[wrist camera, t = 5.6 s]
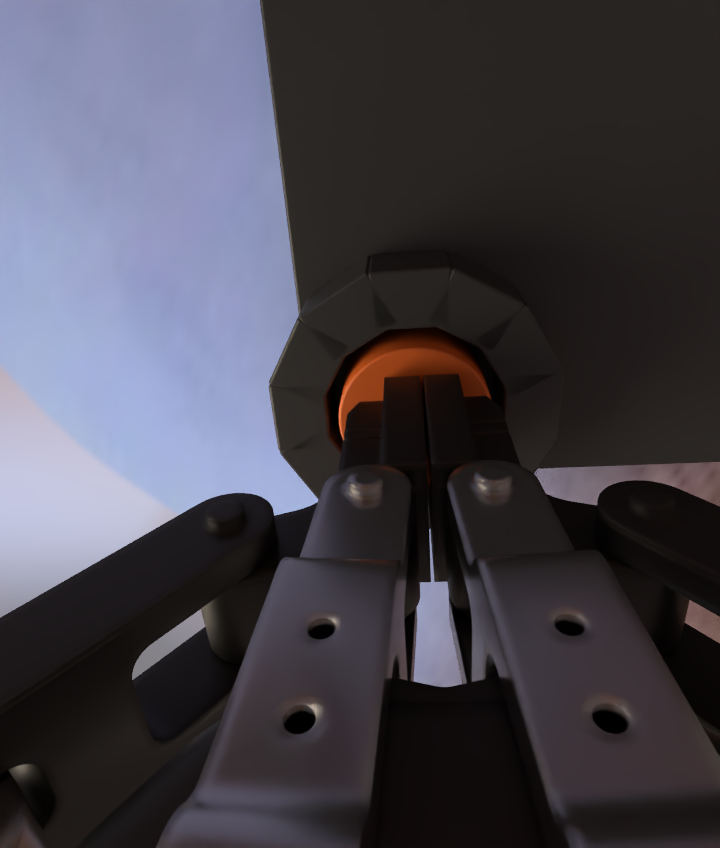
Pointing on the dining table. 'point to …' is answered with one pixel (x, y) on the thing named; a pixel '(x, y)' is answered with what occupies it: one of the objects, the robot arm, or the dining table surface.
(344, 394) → the button
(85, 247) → the dining table surface
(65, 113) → the dining table surface
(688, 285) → the kitchen scale
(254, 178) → the dining table surface
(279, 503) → the dining table surface
